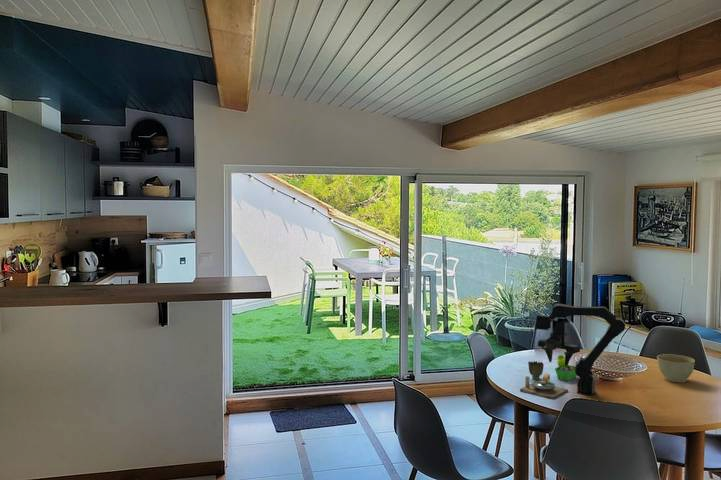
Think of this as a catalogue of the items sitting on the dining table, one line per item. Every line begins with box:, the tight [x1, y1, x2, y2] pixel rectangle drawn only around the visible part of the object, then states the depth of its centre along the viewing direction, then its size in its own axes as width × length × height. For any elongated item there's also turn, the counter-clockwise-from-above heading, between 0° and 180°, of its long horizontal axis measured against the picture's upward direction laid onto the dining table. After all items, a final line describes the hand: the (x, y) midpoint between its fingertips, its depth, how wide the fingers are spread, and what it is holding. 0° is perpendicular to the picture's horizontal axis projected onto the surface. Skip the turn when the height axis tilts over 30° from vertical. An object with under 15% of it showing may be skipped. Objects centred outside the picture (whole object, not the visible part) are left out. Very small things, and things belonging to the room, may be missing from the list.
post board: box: [519, 380, 569, 400], centre depth 248 cm, size 16×15×5 cm
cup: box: [527, 360, 545, 380], centre depth 267 cm, size 8×7×8 cm
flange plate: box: [531, 373, 556, 390], centre depth 249 cm, size 14×10×3 cm
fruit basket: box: [554, 354, 578, 381], centre depth 268 cm, size 11×9×11 cm
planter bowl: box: [656, 353, 696, 383], centre depth 263 cm, size 16×16×11 cm
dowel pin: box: [524, 375, 530, 387], centre depth 251 cm, size 2×2×5 cm
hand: (558, 364), depth 250 cm, fingers open, 8 cm apart
